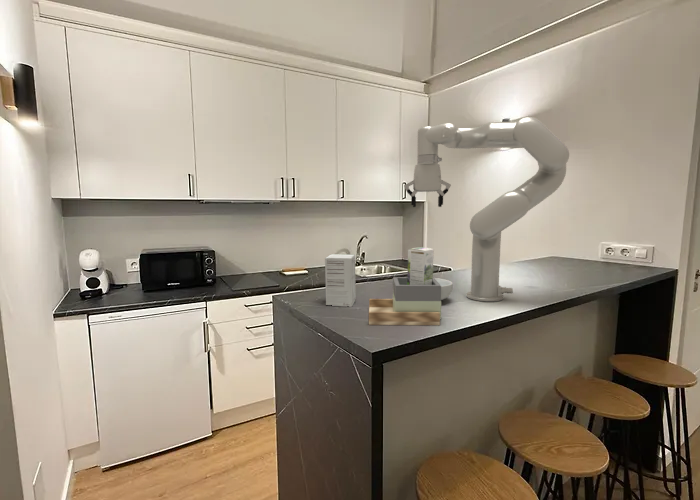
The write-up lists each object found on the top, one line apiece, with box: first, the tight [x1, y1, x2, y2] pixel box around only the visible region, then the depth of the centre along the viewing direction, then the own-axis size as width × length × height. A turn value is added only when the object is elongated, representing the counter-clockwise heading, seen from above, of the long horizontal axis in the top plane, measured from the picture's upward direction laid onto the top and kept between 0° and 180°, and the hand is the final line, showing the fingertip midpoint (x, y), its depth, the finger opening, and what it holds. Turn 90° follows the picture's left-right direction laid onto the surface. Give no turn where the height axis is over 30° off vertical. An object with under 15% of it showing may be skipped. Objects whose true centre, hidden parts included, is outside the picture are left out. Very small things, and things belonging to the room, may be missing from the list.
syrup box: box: [407, 246, 435, 285], centre depth 109 cm, size 6×6×14 cm
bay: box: [368, 298, 441, 326], centre depth 111 cm, size 20×16×4 cm
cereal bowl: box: [434, 277, 453, 301], centre depth 130 cm, size 17×17×7 cm
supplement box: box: [324, 253, 357, 308], centre depth 127 cm, size 10×9×17 cm
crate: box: [392, 276, 442, 319], centre depth 110 cm, size 13×13×10 cm
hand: (427, 206), depth 138 cm, fingers open, 9 cm apart
